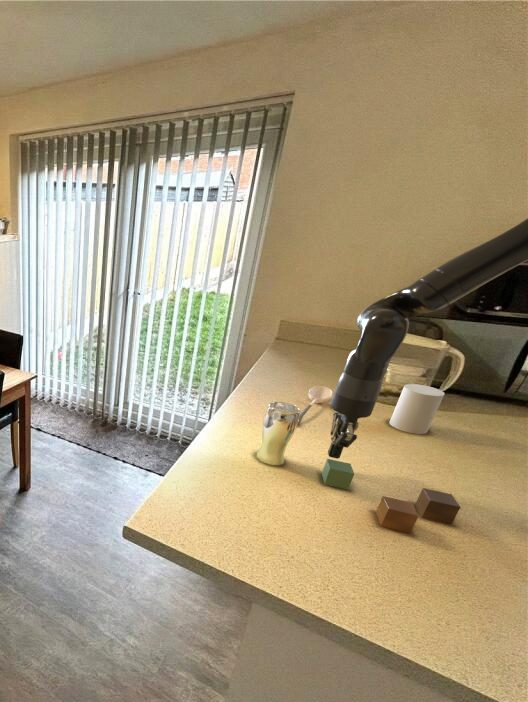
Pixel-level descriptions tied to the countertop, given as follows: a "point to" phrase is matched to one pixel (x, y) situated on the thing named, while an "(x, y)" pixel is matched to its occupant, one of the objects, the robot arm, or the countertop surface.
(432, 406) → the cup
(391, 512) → the oak block
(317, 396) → the ladle
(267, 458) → the beer glass
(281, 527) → the countertop surface
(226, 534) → the countertop surface
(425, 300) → the robot arm
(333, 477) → the sage block
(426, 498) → the walnut block
